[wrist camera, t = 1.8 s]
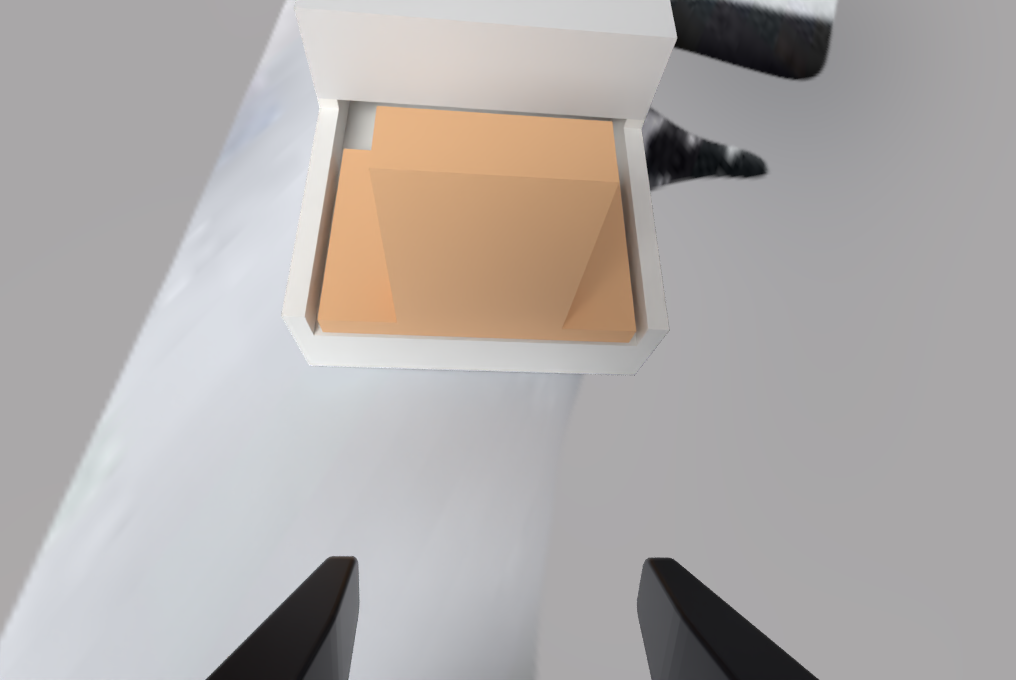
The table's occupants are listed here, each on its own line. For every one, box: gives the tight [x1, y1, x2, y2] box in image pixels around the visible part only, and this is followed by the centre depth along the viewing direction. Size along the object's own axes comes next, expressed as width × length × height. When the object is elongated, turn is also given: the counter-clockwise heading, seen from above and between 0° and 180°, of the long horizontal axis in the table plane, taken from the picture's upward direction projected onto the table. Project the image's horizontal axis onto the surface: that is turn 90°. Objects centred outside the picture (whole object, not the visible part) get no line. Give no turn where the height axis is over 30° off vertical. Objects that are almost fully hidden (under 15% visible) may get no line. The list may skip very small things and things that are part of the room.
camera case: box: [281, 0, 677, 375], centre depth 26 cm, size 22×14×9 cm, turn 0°
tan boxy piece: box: [317, 106, 636, 343], centre depth 20 cm, size 8×12×9 cm
